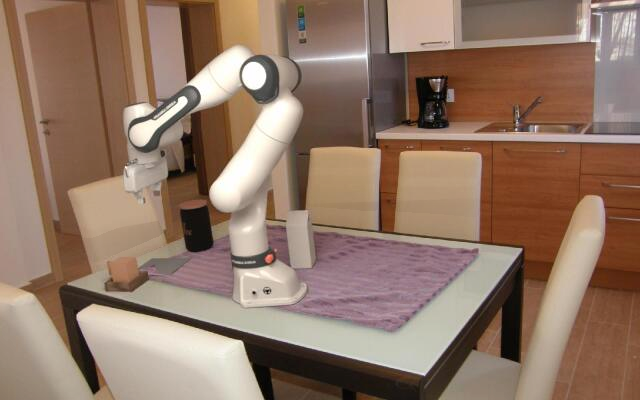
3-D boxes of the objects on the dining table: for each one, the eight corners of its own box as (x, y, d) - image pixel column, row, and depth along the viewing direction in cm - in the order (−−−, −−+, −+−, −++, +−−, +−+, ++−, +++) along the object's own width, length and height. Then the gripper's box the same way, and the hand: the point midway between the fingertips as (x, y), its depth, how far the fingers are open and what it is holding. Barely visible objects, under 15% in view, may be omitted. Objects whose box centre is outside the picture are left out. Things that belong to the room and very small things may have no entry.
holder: (149, 279, 196) (147, 271, 195) (132, 291, 186) (131, 283, 185) (123, 279, 198) (121, 271, 197) (106, 291, 189) (104, 283, 188)
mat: (190, 259, 212) (190, 258, 212) (169, 276, 197) (169, 275, 197) (152, 259, 216) (151, 258, 216) (128, 276, 201) (127, 274, 201)
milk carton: (311, 268, 190) (305, 213, 185) (290, 269, 192) (284, 214, 187) (316, 260, 197) (310, 207, 192) (296, 261, 198) (289, 208, 193)
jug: (140, 282, 194) (135, 256, 192) (130, 289, 189) (125, 263, 186) (117, 281, 197) (112, 257, 194) (107, 289, 191) (101, 263, 189)
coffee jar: (185, 246, 227) (177, 202, 222) (212, 241, 230) (205, 197, 225) (187, 254, 217) (179, 208, 212) (215, 249, 220) (208, 203, 215)
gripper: (134, 162, 166) (141, 209, 170) (168, 149, 185) (174, 191, 189) (114, 163, 168) (122, 208, 171) (151, 150, 187) (157, 191, 191)
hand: (149, 199), depth 180 cm, fingers open, 8 cm apart
